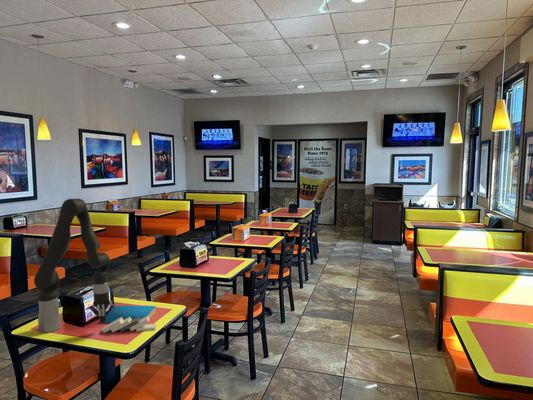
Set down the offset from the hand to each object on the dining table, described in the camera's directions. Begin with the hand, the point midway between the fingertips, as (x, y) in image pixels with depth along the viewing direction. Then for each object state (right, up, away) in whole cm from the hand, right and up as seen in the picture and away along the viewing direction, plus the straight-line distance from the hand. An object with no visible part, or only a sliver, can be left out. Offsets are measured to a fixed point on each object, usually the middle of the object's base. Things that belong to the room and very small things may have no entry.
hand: (102, 322), depth 200 cm
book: (+8, -4, +19) cm, 21 cm away
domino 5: (+18, -4, +2) cm, 18 cm away
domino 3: (+10, -4, +1) cm, 10 cm away
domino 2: (+5, -4, +1) cm, 7 cm away
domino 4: (+14, -4, +2) cm, 15 cm away
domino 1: (+1, -4, 0) cm, 4 cm away
